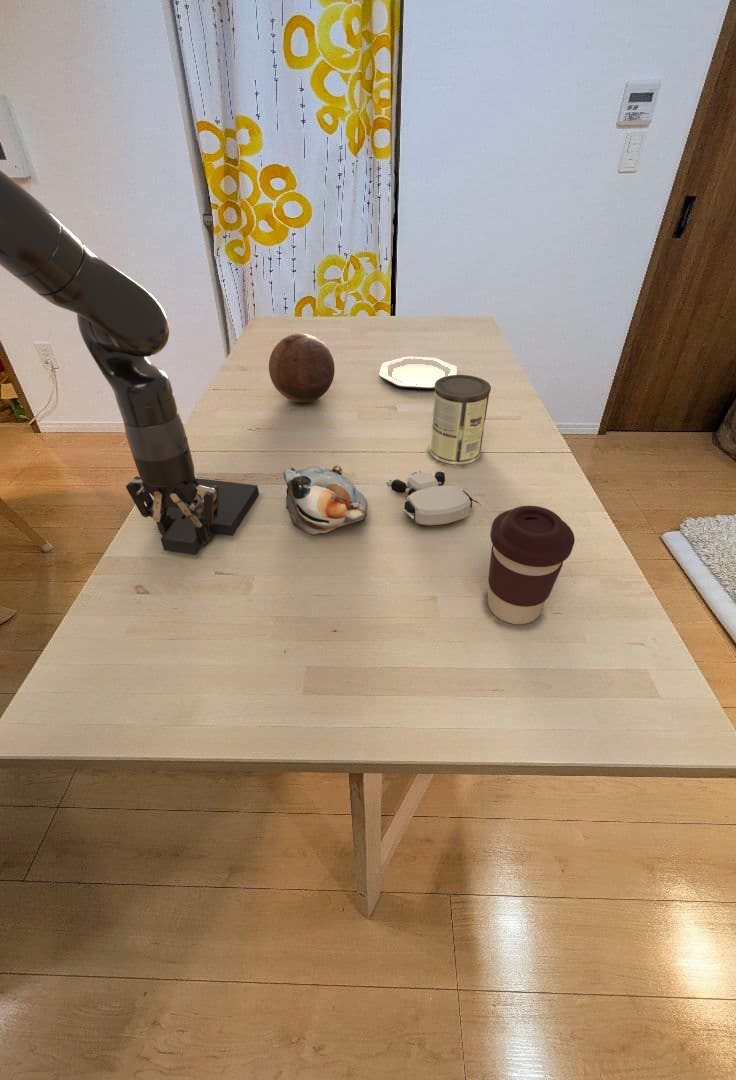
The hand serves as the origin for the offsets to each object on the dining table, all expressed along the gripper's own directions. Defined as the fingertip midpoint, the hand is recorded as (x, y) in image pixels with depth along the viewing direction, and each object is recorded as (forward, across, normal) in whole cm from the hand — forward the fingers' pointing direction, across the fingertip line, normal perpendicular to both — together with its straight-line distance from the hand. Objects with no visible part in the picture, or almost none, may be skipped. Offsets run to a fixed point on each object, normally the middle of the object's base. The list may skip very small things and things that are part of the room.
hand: (187, 538), depth 83 cm
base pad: (+1, 0, +9) cm, 9 cm away
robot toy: (+1, +37, +17) cm, 41 cm away
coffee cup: (+1, +51, -4) cm, 51 cm away
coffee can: (+1, +40, +37) cm, 54 cm away
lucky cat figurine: (+1, +21, +10) cm, 23 cm away
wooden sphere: (+1, +3, +55) cm, 55 cm away
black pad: (+1, 0, +2) cm, 2 cm away
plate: (+1, +28, +74) cm, 79 cm away
